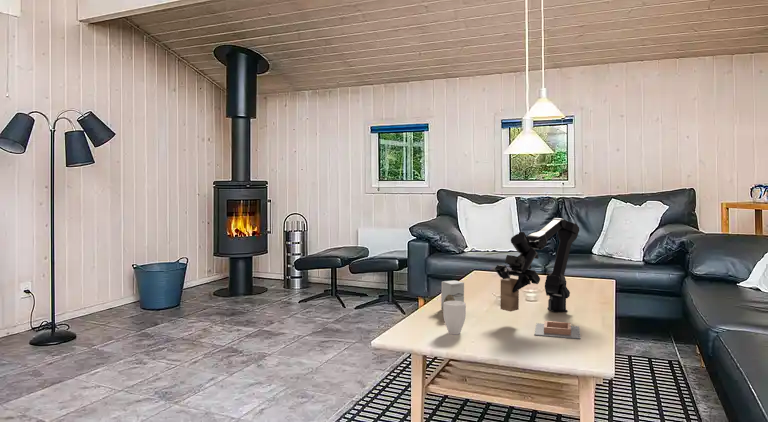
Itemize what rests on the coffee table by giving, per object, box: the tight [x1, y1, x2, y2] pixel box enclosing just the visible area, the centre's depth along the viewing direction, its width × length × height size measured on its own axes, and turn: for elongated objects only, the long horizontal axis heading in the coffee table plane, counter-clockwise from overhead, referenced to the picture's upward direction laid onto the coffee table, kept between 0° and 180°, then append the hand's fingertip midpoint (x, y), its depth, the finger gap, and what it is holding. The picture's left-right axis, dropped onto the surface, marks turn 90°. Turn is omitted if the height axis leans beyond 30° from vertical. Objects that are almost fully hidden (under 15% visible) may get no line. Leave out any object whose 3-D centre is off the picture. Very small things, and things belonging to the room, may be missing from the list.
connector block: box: [499, 277, 520, 312], centre depth 214 cm, size 5×5×12 cm
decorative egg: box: [441, 294, 455, 312], centre depth 223 cm, size 6×6×10 cm
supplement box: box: [440, 279, 465, 310], centre depth 237 cm, size 7×7×13 cm
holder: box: [533, 320, 581, 340], centre depth 204 cm, size 16×16×2 cm
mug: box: [442, 301, 467, 335], centre depth 204 cm, size 12×8×11 cm
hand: (507, 290), depth 213 cm, fingers closed on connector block, 5 cm apart
